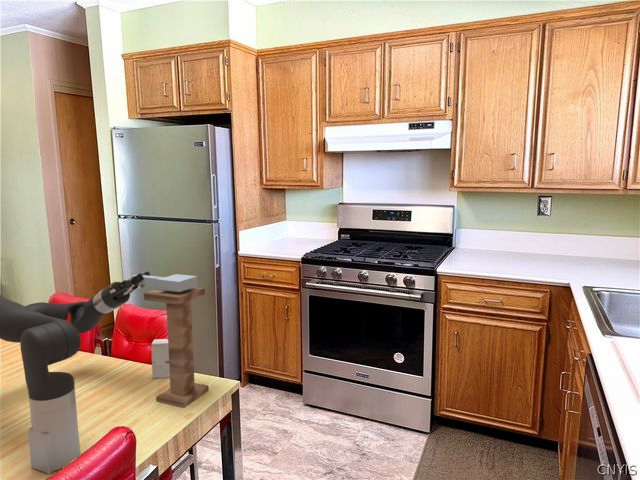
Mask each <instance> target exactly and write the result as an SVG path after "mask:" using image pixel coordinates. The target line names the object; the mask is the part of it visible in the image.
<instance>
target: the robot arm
mask: <svg viewBox="0 0 640 480" xmlns="http://www.w3.org/2000/svg"><path fill="white" fill-rule="evenodd" d="M135 275H136V276H135V277H133V278H128V279H124V280H123V281H114V282H112V283H110V284H109V285H107V286H105V288H103V289H101V290H99V291H98V293H97V294H95V295H93V296H92V297H91V298H89V299H88V300H87V301H83V300H82V301H75V302H71V303H70V302H69V303H52V302H45V301H43V302H40V301H39V302H33V303H29V304H27V305H24V304H21V303H19V302H16V301H13V300H11V299H8V298H6V297H5V296H4V295H2V294H0V340H2V341H5V342H9V343H17V344H20V353H21V360H22V364H23V365H22V366H23V371H24V380H25V384H26V387H27V393H28V400H29V401H28V403H29V412H30V423H31V427H30V428H28V429H27V437H28V438H27V439H28V446H29V456H30V457H29V458H30V467H31V468H32V469H34V470H36V471H40V472H42V473H44V474H48V475H50V474H51V473H53V472H55V471H59V470H62V469H64V468H63V467H64V466H66V465H67V464H69V463H70V462H71V461H72V460H74V459H75V458H77V457H78V456H79V457H80V456H81V448H80V447H81V446H80V433H79V432H80V431H79V422H78V409H77V398H76V385H75V377H74V375H72V374H71V373H69V372H66V371H65V372H64V371H49V366H51V365H53V364H56V363H59V362H62V361H65V360H68V359H70V358H73V356H75V355H76V354H77V353H78V352H79V351H80V349H81V347H82V337H81V334H86V333H88V332H90V331H92V330H93V329H94V328H96V326H97V325H98V323H99V322H100V321H101V320H102V319H103V317H104V316H105V315H107V314H109V313H111V312H112V311H115V310H117V309H118V308H120V307H121V306H123V305H125V304H126V303H127V302H129V300H130V298H131V295H132V294H133V293H134V292H135V291H136V290H138V289H142V288H144V287H145V286H146V285H141V284H138V283H139V282H141V281H142V280H144V278H143V275H147V276H152V275H151V273H150V272H149V271H144V273H141V272H140V273H138V275H137V274H135ZM68 317H69V321H68ZM61 468H62V469H61Z"/></svg>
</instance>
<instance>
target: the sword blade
mask: <svg viewBox="0 0 640 480" xmlns="http://www.w3.org/2000/svg"><path fill="white" fill-rule="evenodd" d="M138 274H139V273H138ZM138 274H134V275H131V278H133V277H135V276H136V275H138ZM143 278H144V280H142V281H141V282H139V283H138V284H141V285H145V286H151V287H157V289H158V290H166V291H175V292H182V291H184V290H187V289H190V288H193V287H198V286H199V284H198V281H199V280H198V276H197V275H188V274H178V273H175V274H172V275H169V276H157V275H151V276H147V275H143Z"/></svg>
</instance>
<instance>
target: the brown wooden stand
mask: <svg viewBox="0 0 640 480" xmlns="http://www.w3.org/2000/svg"><path fill="white" fill-rule="evenodd" d="M205 294H206V292H205V287H198V286H196V287H193V288H190V289H187V290H184V291H182V292H175V291H166V290H158V288H156V289H152V290H149V291H146V292H144V293H143V300H144V301H148V302H149V301H150V302H157V303H162V304H163V303H164V304H165V305H166V306H165V308H166V325H167V326H166V329H167V339H168V349H169V368H170V377H169V380H170V381H169V382H170V383H169V384H170V388H168V389H166V390H164V391H163V392H161V393H159V394H158V395H156V396H155V400H156V402H158V403H162V404H165V405H170V406H173V407H178V408H180V409H181V408H182V409H184V408H185V407H186V406H187V407H188V405H189V404H190V403H192V402H194V401H195V400H197V399H198V398H200V397H202V395H204V394H205V393H207V392H208V391H209V385H207V384H201V383H197V382H195V364H194V343H193V341H194V340H193V321H192V300H194V299H197V298H199V297H202V296H204V295H205Z"/></svg>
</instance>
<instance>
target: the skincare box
mask: <svg viewBox="0 0 640 480" xmlns="http://www.w3.org/2000/svg"><path fill="white" fill-rule="evenodd" d="M151 370H152V375H151V376H152V379H159V378H160V379H164V378H170V368H169V349H168V338H162V339H161V338H159V339H158V338H157V339H153V341H152V343H151Z"/></svg>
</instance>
